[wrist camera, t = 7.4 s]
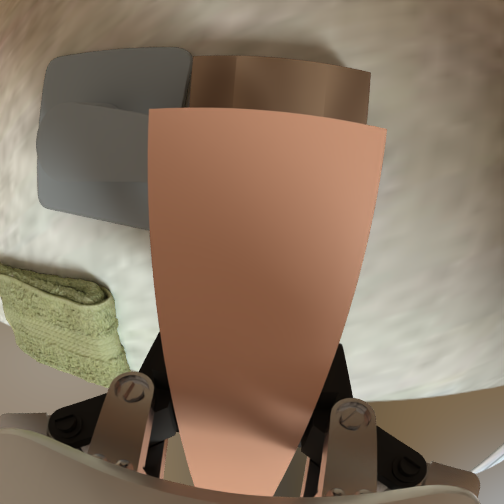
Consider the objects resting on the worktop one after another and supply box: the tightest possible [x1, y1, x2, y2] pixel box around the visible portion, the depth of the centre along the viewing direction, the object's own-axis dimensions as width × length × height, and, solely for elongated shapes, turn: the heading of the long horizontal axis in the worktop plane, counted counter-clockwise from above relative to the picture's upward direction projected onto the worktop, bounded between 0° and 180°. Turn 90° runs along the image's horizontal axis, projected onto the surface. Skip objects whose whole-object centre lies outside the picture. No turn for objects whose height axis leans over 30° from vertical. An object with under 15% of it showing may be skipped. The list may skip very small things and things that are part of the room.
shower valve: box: [36, 47, 193, 231], centre depth 15 cm, size 12×6×15 cm
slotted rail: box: [189, 56, 371, 125], centre depth 18 cm, size 9×22×3 cm, turn 176°
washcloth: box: [0, 262, 131, 388], centre depth 24 cm, size 13×18×3 cm
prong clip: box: [148, 108, 387, 497], centre depth 10 cm, size 4×15×8 cm, turn 176°
